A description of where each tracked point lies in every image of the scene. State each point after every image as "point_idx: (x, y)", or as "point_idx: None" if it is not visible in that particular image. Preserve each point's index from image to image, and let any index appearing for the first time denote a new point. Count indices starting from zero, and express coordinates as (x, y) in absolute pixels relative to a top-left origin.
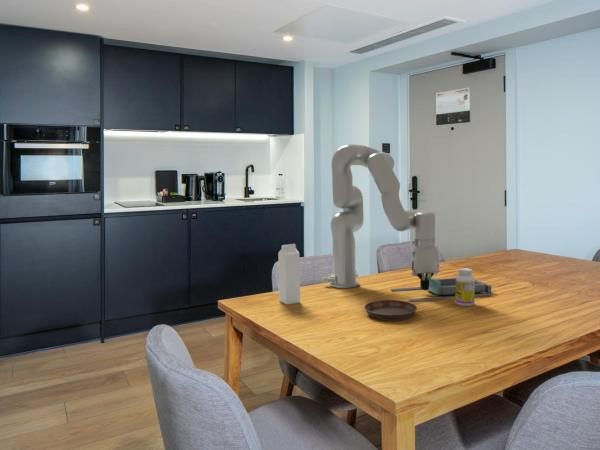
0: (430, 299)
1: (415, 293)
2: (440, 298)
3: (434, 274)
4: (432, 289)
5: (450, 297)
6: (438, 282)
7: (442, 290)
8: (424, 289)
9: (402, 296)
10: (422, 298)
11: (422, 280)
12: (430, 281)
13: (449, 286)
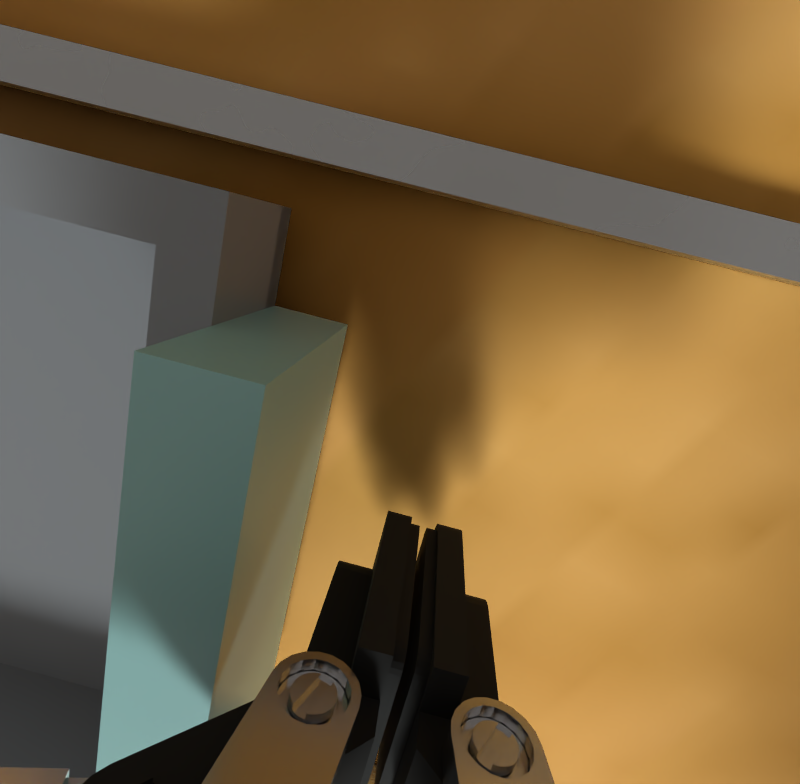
0: (620, 183)
1: (492, 630)
2: (419, 134)
3: (31, 781)
4: (303, 493)
5: (221, 80)
6: (225, 361)
7: (255, 231)
8: (459, 542)
9: (790, 609)
10: (772, 246)
11: (496, 725)
12: (237, 663)
13: (17, 208)
